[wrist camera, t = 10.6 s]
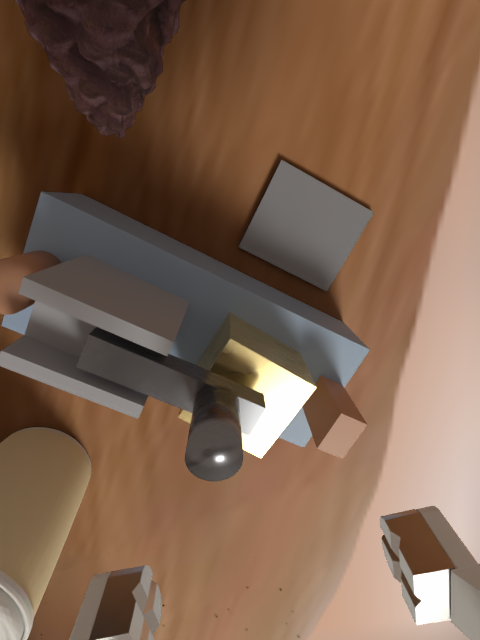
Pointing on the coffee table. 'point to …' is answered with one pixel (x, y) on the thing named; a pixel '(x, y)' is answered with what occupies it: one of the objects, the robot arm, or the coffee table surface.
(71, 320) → the plane body
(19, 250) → the coffee table surface
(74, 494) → the coffee cup
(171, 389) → the ball-knob lever
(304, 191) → the mat
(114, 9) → the pine cone
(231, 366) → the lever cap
